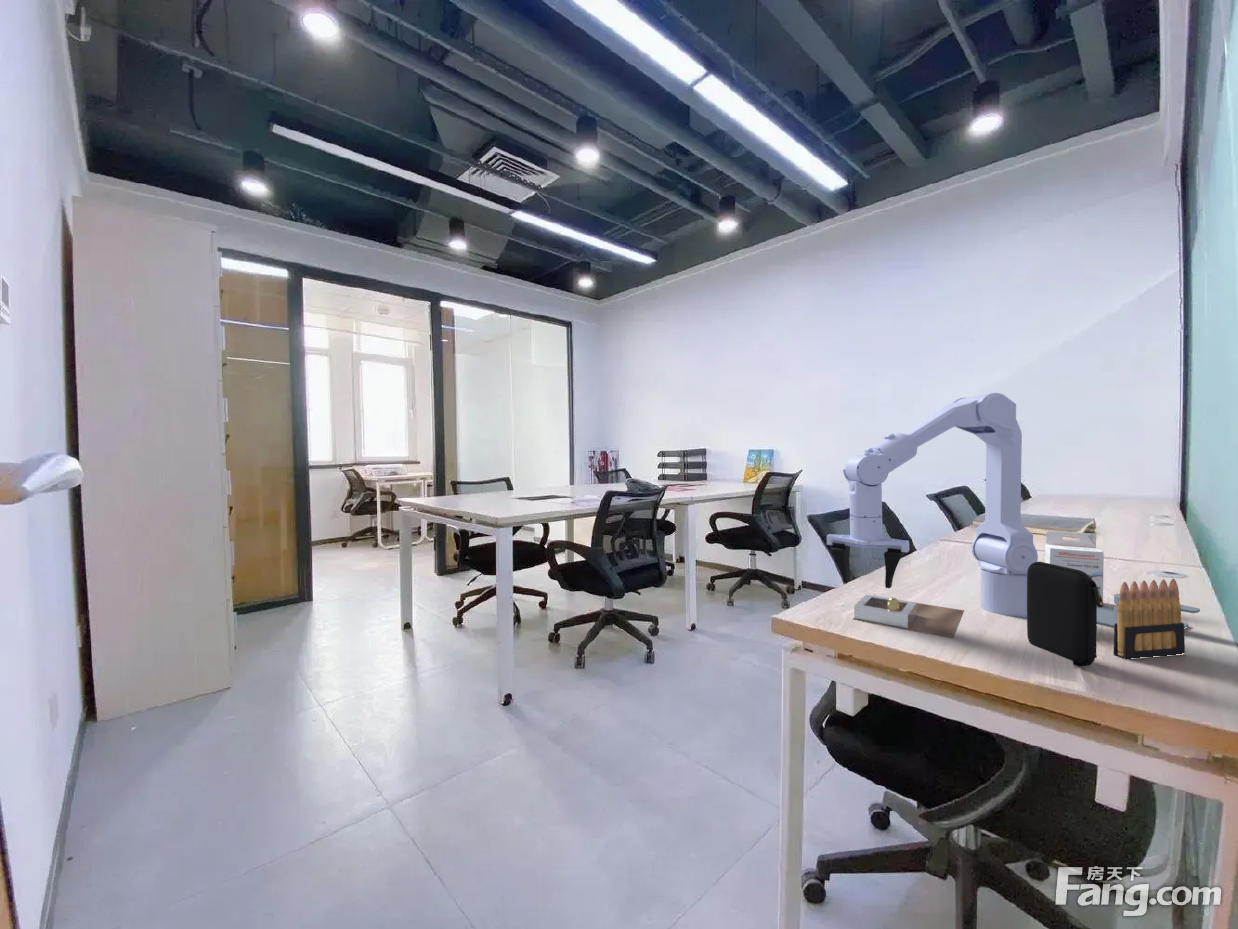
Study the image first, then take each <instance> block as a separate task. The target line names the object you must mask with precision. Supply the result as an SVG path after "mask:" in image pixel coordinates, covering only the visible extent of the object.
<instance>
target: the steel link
mask: <svg viewBox="0 0 1238 929" xmlns="http://www.w3.org/2000/svg"><path fill="white" fill-rule="evenodd" d="M889 598H890V597H884V596H878V595H871V594H865V595H864V596H863V597H862V598H861V599H860V600H858V602H857V603H855V605H854V606H853V607H854V610H853V613H854V614H853V615H854V617H853V618H854V619H859V620H864V621H870V622H875V623H880V624H885V625H891V626H896V627H901V628H906V629H908V628H909V626H910V625H911V623H912V622H913V620H914V619H915V617H916V616H917V603H918V602H916V601H909V600H903V599H898V598H896V599H897V600H898V601H899V611H893V610H888V609H887V601H888V599H889ZM859 620H858V621H859ZM864 621H863V622H864ZM885 625H884V626H885Z"/></svg>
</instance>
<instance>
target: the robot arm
mask: <svg viewBox="0 0 1238 929" xmlns="http://www.w3.org/2000/svg"><path fill="white" fill-rule="evenodd" d="M952 428H957V429H959V430H962V431H965V432H968V433H970V434H973V435H975V436H976V437H977V438H979V440H982V442H984V443H985V500H984V502H985V503H984V504H985V505H984V507H985V508H984V510H985V511H984V512H985V514H984V515H985V516H984V518H985V519H984V521H982V523H981V524H979V525H978V526H977V527H976V528H975V536H974V539H973V541H972V542H971V547H970V549H971V553H972V556H973V558H974V559H975V560H977V561H978V567H980V608H981V609H982V610H984V611H986V612H988V613H989V612H990V613H992V614H996V615H1002V616H1011V617H1020V618H1025V619H1027V572H1028V568H1029V566H1030V565H1031V564H1032V563H1034V562H1038V560H1039V559H1038V558H1039V556H1038V551H1037V549H1036V546H1035V543H1034V535H1033V534H1032V532H1031V531H1030V530H1028V528H1027V527H1025V526H1024V525H1023V524H1022V523H1021V510H1022V509H1021V508H1022V507H1021V506H1022V505H1021V504H1022V503H1021V500H1022V497H1021V496H1022V452H1023V451H1022V450H1023V449H1022V445H1023V444H1022V438H1023V437H1022V436H1023V434H1022V430H1021V427H1020V425H1019V423H1018V420H1017V404H1016V403H1015V401H1012V399H1010V398H1009V397H1007V396H1006V395H1005V394H1003V393H1000V392H993V393H988V394H984V395H977V396H970V397H959V398H956V399H954V400H953V401H952V402H951V403H947V404H945V405H943V406H942V407H941V409H939V410H938V411H936V412H935V413H934V414H932V415H931V416H930V417H929V416H928V418H926V419H925V420H924V421H922V422H921V423H919V424H918V425H916V426H915V427H913V428H912V429H910V431H908V432H906V433H902V432H896V433H887V434H886V435H884V440H882V441H880V442H879V443H878V444H876V445H874V446H872V447H866V449H864V453H863V455H854V456H853V457H851V458H849V459H848V460H847V463H846V464H845V468H844V469H843V470H842V472H843V476H844V478H845V479H846V480H847V482H848V484H849V487H848V488H849V489H848V491H849V495H848V496H849V530H850V531H849V534H832V533H829V534H827V535H826V545H828V546H831V548H830V551H831V553H832V555H833V557H834V558H835V560H836V563H837V565H838V567H839V571H840V573H841V578H842V582H843V583H848V582H850V580H851V578H850V577H851V572H850V571H851V570H850V569H851V568H850V553H851V547H856V548H864V549H875V550H885V552H883V557H884V567H885V569H884V570H885V575H884V576H885V579H884V580H885V581H884V586H885V589H891V588H892V587H893V580H894V576H895V573H896V569H897V567H898V564H899V562H900V560H901V559H902V556H903V555H904V553H909V551H910V541H909V540H903V539H897V538H890V537H889V538H888V537H884V536H883V495H882V494H883V492H882V490H883V488H882V487H883V486H882V483H884V482H885V481H886V480H887V478H888V477H889V473H891V472H893V471H894V470H896V469H898V468H899V467H900V466H902V465H904V464H906V463H907V462H909V461H910V460H911V459H913V458H915V457H916V456H917V454H918V448H919V447H921V446H922V445H924V444H926V443H927V442H930V441H932V440H933V439H935V438H937V437H938V436H940V435H942V434H944V433H945V432H948V431H949V430H951V429H952Z"/></svg>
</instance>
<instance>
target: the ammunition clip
mask: <svg viewBox="0 0 1238 929" xmlns="http://www.w3.org/2000/svg"><path fill="white" fill-rule="evenodd" d="M1119 594H1120V597H1119V605H1118V609H1117V623H1115V624H1114V628H1113V629H1114V630H1113V631H1114V632H1113V655H1114V656H1116V657H1118V658H1121V657H1122V659H1124V658H1125V659H1124V660H1127V659H1131V658H1140V657H1153V656H1167V655H1176V654H1182V653H1185V654H1186V645H1185V642H1186V641H1185V629H1184V623H1185V622H1183V623H1181V622H1182V611H1181V605H1182V604H1181V602H1180V590H1179V585H1178V583H1177V581H1176V579H1175V578H1172V579H1171V580H1170V582H1169V584H1168V583H1167V581H1166V580H1165V579H1162V580H1161V581H1160V583H1159V585H1158V584H1157V581H1156V580H1155V579H1152V580H1151V582H1150V584H1149V585H1148V583H1147V581H1146V580H1143V581H1142V582H1141V583H1140V586H1139V584H1137V582H1136V581H1135V580H1134V581H1133V582H1132V583H1131V584H1130V587H1129V585H1128V583H1127V582H1126V581H1123V583H1121V586H1120V590H1119ZM1180 604H1181V605H1180ZM1131 660H1132V659H1131Z"/></svg>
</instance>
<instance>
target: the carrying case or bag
mask: <svg viewBox="0 0 1238 929" xmlns="http://www.w3.org/2000/svg"><path fill="white" fill-rule="evenodd" d="M1097 606H1098V607H1099V608H1101V607H1103V606H1104V599H1103V600H1102V597H1101V595H1100V591H1099V588H1098V587H1097V586H1096V583H1095V582H1094V581H1093V580H1092V578H1091V577H1090V576H1089V575H1088V574H1086V573H1085V572H1083V571H1081V570H1077V569H1072V568H1068V567H1063V566H1058V565H1054V564H1049V563H1045V561H1037V562H1034V563H1032V564H1031V565H1030V566H1029V568H1028V572H1027V618H1026V629H1027V630H1026V632H1027V634H1026V635H1027V640H1028V642H1029V644H1030V645H1032V646H1034V647H1037V648H1040V649H1042V650H1043V651H1047V652H1048V653H1049V652H1050V653H1052V654H1054V655H1057V656H1058V657H1059V656H1060V657H1062V658H1065V659H1067V660H1070V661H1072V663H1073V665H1074V666H1077V667H1081V668H1082V667H1085V668H1086V667H1089V666H1091V665H1092V664H1093V663H1094V661H1095V659H1097V657H1098V656H1097V639H1098V638H1097V635H1098V633H1097V630H1098V627H1097V625H1098V624H1097Z"/></svg>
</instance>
